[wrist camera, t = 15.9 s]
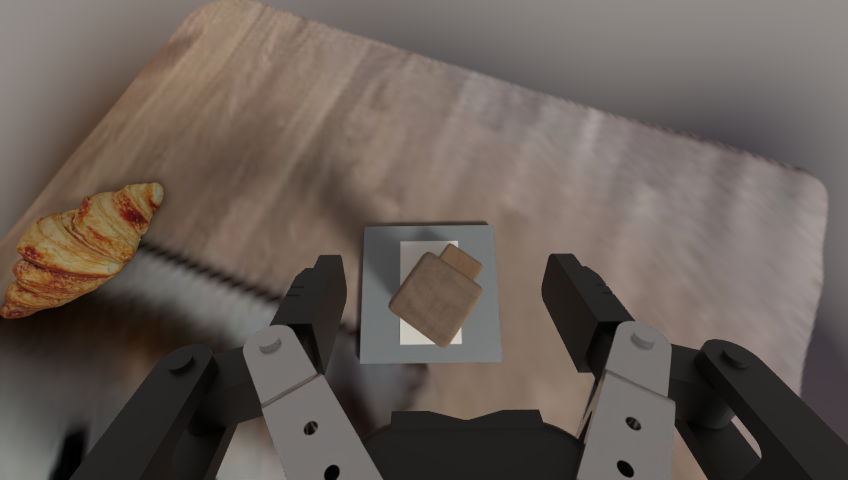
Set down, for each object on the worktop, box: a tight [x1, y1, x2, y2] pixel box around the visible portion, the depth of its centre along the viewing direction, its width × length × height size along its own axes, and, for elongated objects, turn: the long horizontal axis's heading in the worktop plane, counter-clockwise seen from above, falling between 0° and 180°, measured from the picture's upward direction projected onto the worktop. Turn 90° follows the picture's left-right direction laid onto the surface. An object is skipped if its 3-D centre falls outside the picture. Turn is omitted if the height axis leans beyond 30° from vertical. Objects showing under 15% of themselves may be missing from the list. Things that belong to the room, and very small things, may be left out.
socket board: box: [360, 225, 502, 364], centre depth 38 cm, size 16×16×1 cm
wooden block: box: [388, 243, 483, 348], centre depth 29 cm, size 9×4×18 cm, turn 145°
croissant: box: [0, 182, 164, 319], centre depth 38 cm, size 21×10×8 cm, turn 142°
